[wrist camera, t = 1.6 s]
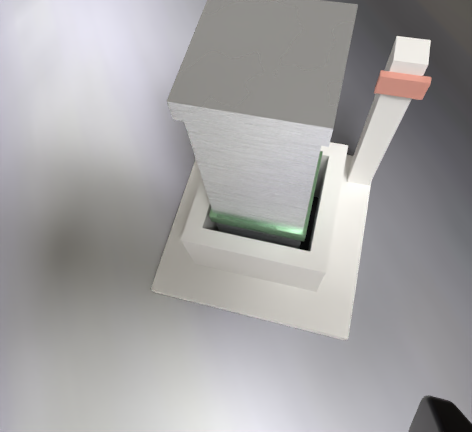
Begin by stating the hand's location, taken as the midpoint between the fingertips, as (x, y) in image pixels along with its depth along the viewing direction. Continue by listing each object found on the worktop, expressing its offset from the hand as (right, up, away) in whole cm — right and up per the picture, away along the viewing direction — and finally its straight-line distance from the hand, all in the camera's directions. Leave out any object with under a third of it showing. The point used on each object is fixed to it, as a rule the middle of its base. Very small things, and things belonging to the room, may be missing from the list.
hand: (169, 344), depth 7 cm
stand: (+3, +2, +15) cm, 16 cm away
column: (+3, +2, +15) cm, 16 cm away
